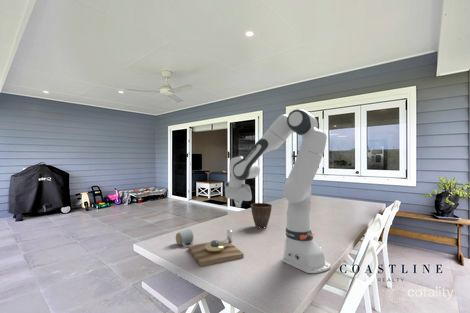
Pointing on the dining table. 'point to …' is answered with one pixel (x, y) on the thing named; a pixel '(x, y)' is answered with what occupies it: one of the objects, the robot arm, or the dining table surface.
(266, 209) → the plant pot
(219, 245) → the brass and silver crank
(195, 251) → the brown flat wooden board
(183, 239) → the ceramic mug
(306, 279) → the dining table surface
